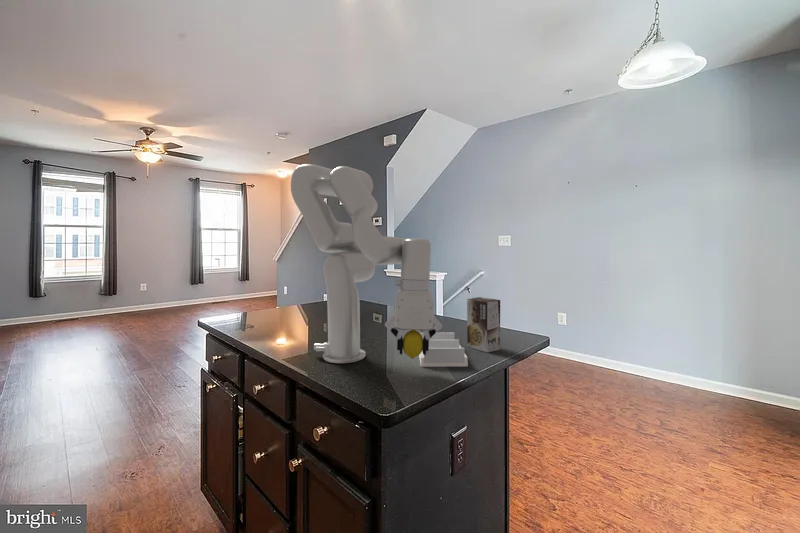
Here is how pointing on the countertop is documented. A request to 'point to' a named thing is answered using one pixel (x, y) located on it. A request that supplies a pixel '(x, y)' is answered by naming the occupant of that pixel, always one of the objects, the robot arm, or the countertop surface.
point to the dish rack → (443, 351)
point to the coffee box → (483, 324)
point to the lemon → (412, 344)
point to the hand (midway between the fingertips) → (412, 352)
